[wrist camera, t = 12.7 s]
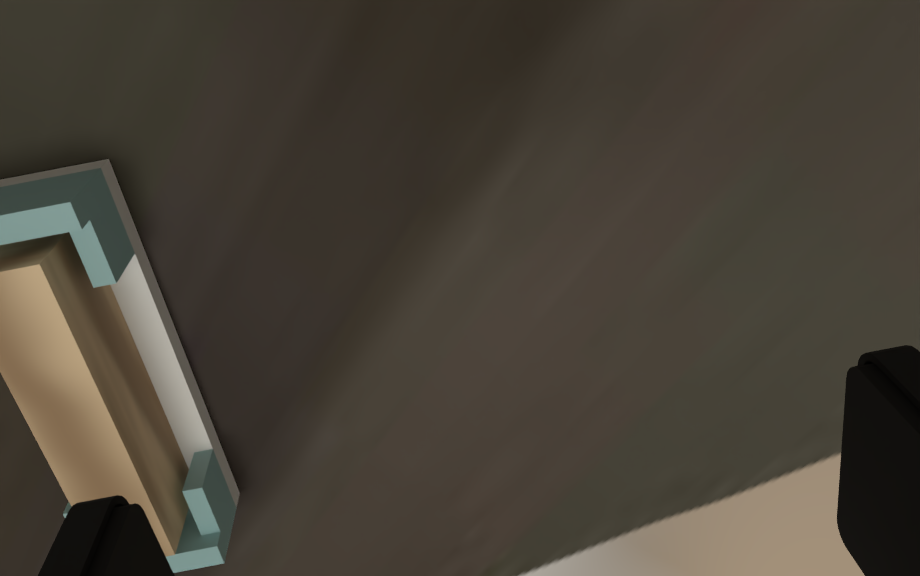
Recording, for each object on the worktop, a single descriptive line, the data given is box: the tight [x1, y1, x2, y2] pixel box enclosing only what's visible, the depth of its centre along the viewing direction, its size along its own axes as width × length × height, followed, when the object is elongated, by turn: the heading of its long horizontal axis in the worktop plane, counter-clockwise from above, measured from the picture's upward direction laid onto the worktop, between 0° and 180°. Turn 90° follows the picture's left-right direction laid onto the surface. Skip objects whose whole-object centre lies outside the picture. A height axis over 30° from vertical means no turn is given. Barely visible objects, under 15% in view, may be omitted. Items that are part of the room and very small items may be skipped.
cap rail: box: [0, 159, 240, 573], centre depth 39 cm, size 7×20×5 cm, turn 10°
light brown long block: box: [0, 232, 189, 556], centre depth 38 cm, size 4×16×5 cm, turn 10°
